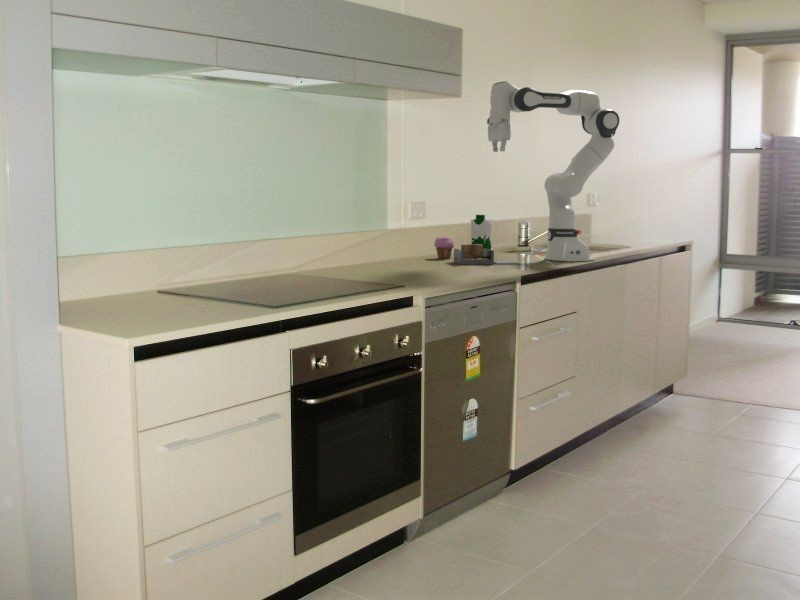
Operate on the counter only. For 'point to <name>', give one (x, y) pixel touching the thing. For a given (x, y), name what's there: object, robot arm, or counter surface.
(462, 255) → the rack
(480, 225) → the milk carton
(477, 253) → the brown flat block
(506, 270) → the counter surface
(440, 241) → the cupcake
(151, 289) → the counter surface
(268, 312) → the counter surface
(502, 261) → the grey mat
